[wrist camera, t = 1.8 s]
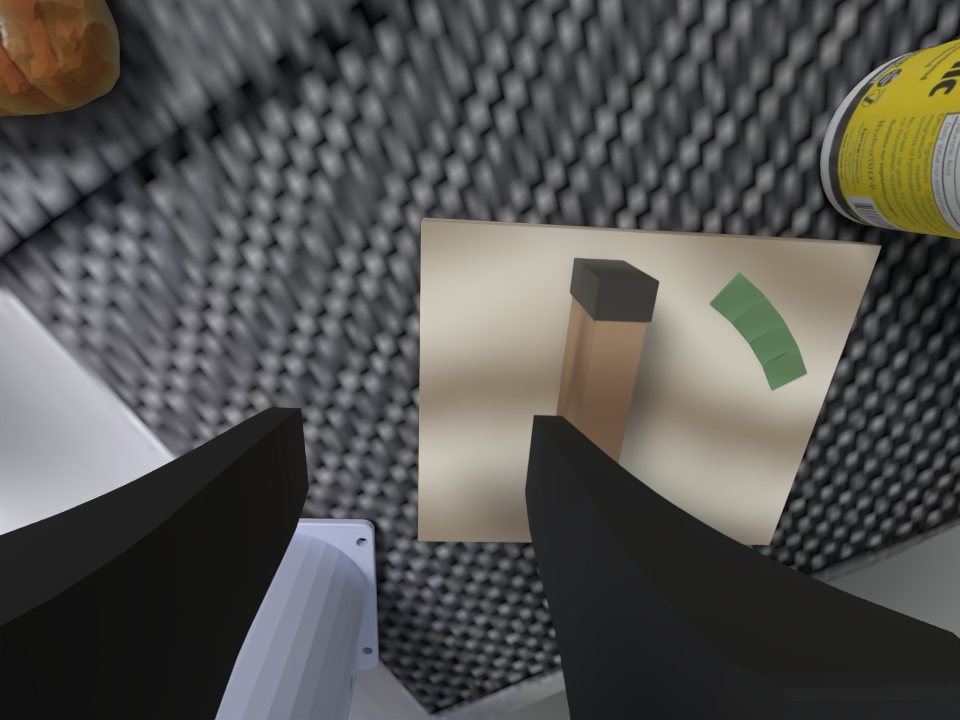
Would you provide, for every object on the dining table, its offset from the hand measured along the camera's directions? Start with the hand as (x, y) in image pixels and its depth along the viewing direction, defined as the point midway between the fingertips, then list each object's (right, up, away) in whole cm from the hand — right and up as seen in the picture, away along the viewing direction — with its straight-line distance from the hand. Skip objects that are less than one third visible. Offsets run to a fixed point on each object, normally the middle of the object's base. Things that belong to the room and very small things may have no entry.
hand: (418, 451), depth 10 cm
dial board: (+7, 0, +9) cm, 12 cm away
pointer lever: (+5, 0, +8) cm, 9 cm away
